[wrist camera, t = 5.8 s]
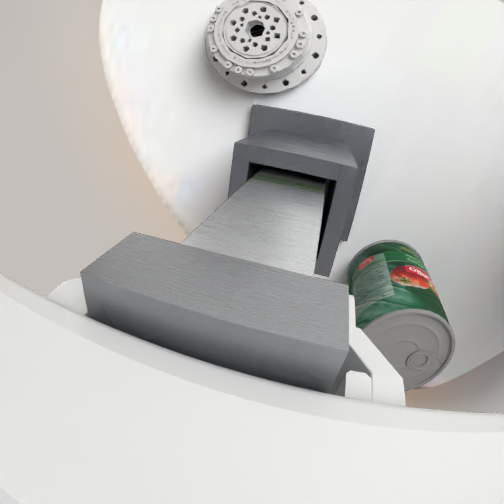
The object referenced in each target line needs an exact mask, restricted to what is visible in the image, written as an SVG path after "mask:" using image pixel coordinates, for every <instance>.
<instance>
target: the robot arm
mask: <svg viewBox="0 0 504 504" xmlns="http://www.w3.org/2000/svg"><path fill="white" fill-rule="evenodd" d="M0 504H504V413H482V412H461V411H447V410H435V409H425V408H416V407H407V406H406V402H405V393H404V384H403V378H402V377H401V376H400V375H399V374H398V372H397V371H396V370H395V369H394V368H393V366H392V365H391V364H390V363H389V362H388V361H387V359H386V358H385V357H384V356H383V355H382V353H381V352H380V351H379V350H378V349H377V348H376V346H375V345H374V344H373V343H372V342H371V341H370V339H369V338H368V337H367V336H366V335H365V334H364V332H363V331H362V330H361V329H360V328H357V327H356V321H355V299H354V296H353V295H349V352H348V354H347V356H346V358H345V360H344V362H343V364H342V366H341V369H340V371H339V373H338V375H337V377H336V379H335V381H334V383H333V384H332V386H331V388H330V390H329V392H328V393H323V392H318V391H313V390H309V389H304V388H300V387H295V386H291V385H287V384H283V383H279V382H275V381H271V380H267V379H263V378H260V377H256V376H252V375H249V374H245V373H241V372H238V371H235V370H231V369H228V368H224V367H221V366H218V365H214V364H211V363H208V362H205V361H202V360H199V359H196V358H193V357H190V356H187V355H184V354H181V353H178V352H175V351H172V350H169V349H167V348H164V347H161V346H158V345H156V344H153V343H150V342H148V341H145V340H142V339H140V338H137V337H135V336H132V335H130V334H127V333H125V332H122V331H120V330H117V329H115V328H112V327H110V326H108V325H105V324H103V323H101V322H98V321H96V320H94V319H92V318H89V315H88V311H87V306H86V301H85V296H84V291H83V285H82V280H81V277H79V278H75V279H71V280H67V281H64V282H63V283H62V284H61V285H59V286H58V287H57V288H56V289H55V290H53V291H52V292H51V293H50V294H48V295H47V296H46V297H45V296H43V295H41V294H39V293H37V292H35V291H33V290H31V289H29V288H28V287H25V286H23V285H22V284H20V283H18V282H16V281H14V280H12V279H11V278H9V277H7V276H6V275H4V274H2V273H0Z"/></svg>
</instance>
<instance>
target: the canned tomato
mask: <svg viewBox="0 0 504 504" xmlns="http://www.w3.org/2000/svg"><path fill="white" fill-rule="evenodd" d="M347 283H348V285H349V295H353V296H354V299H355V321H356V327H357V328H360V329H361V330H362V331H363V332H364V334H365V335H366V336H367V337H368V338H369V339H370V341H371V342H372V343H373V344H374V345H375V346H376V348H377V349H378V350H379V351H380V352H381V353H382V355H383V356H384V357H385V358H386V359H387V361H388V362H389V363H390V364H391V365H392V366H393V368H394V369H395V370H396V371H397V372H398V374H399V375H400V376H401V377H402V378H403V384H404V391H407V390H410V389H414V388H417V387H419V386H422V385H424V384H426V383H427V382H429V381H431V380H432V379H434V378H435V377H436V376H437V375H439V374H440V373H441V372H442V371H443V369H444V368H445V367H446V366H447V364H448V363H449V361H450V360H451V357H452V355H453V352H454V347H455V339H454V333H453V331H452V328H451V326H450V325H449V322H448V319H447V316H446V314H445V311H444V309H443V306H442V304H441V302H440V299H439V297H438V294H437V292H436V290H435V288H434V285H433V283H432V281H431V279H430V276H429V274H428V272H427V270H426V268H425V266H424V263H423V260H422V258H421V257H420V255H419V254H418V253H417V251H416V250H415V249H414V248H412V247H411V246H410V245H408V244H406V243H404V242H401V241H396V240H383V241H378V242H375V243H372V244H370V245H368V246H366V247H365V248H363V249H362V250H361V251H360V252H359V253H358V254H357V255H356V256H355V257H354V259H353V260H352V262H351V264H350V266H349V270H348V273H347Z"/></svg>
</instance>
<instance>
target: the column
mask: <svg viewBox="0 0 504 504" xmlns="http://www.w3.org/2000/svg"><path fill="white" fill-rule="evenodd" d="M325 187H326V178H323V177H319V176H315V175H310V174H306V173H301V172H297V171H292V170H287V169H282V168H278V167H273V166H268V165H265V166H264V167H263V168H262V169H261V170H260V171H259V172H257V173H256V174H255V175H254V176H253V177H252V178H251V179H250V180H248V181H247V182H246V183H245V184H244V185H243V186H242V187H241V188H240V189H238V190H237V191H236V192H235V193H234V194H233V195H232V196H231V197H230V198H228V199H227V200H226V201H225V202H224V203H223V204H222V205H221V206H220V207H219V208H218V209H216V210H215V211H214V212H213V213H212V214H211V215H210V216H209V217H208V218H207V219H206V220H205V221H204V222H203V223H201V224H200V225H199V226H198V227H197V228H196V229H195V230H194V231H193V232H192V233H191V234H190V235H189V236H188V237H187V238H186V239H185V240H184V241H183V242H181V243H176V242H172V241H168V240H164V239H160V238H156V237H152V236H148V235H144V234H141V233H136V232H133V233H131V234H130V235H129V236H127V237H126V238H125V239H123V240H122V241H121V242H119V243H118V244H116V245H115V246H114V247H112V248H111V249H110V250H109V251H107V252H106V253H105V254H103V255H102V256H100V257H99V258H98V259H97V260H95V261H94V262H93V263H91V264H90V265H89V266H88V267H86V268H85V269H84V270H83V271H81V272H80V273H81V280H82V285H83V291H84V296H85V301H86V306H87V311H88V315H89V318H92V319H94V320H96V321H98V322H101V323H103V324H105V325H108V326H110V327H112V328H115V329H117V330H120V331H122V332H125V333H127V334H130V335H132V336H135V337H137V338H140V339H142V340H145V341H148V342H150V343H153V344H156V345H158V346H161V347H164V348H167V349H169V350H172V351H175V352H178V353H181V354H184V355H187V356H190V357H193V358H196V359H199V360H202V361H205V362H208V363H211V364H214V365H218V366H221V367H224V368H228V369H231V370H235V371H238V372H241V373H245V374H249V375H252V376H256V377H260V378H263V379H267V380H271V381H275V382H279V383H283V384H287V385H291V386H295V387H300V388H304V389H309V390H313V391H318V392H323V393H328V392H329V390H330V388H331V386H332V384H333V383H334V381H335V379H336V377H337V375H338V373H339V371H340V369H341V366H342V364H343V362H344V360H345V358H346V356H347V354H348V352H349V285H345V284H341V283H337V282H333V281H329V280H325V279H321V278H316V277H313V275H314V269H315V262H316V255H317V249H318V242H319V234H320V227H321V220H322V212H323V204H324V195H325Z"/></svg>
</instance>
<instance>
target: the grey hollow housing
mask: <svg viewBox="0 0 504 504" xmlns="http://www.w3.org/2000/svg"><path fill="white" fill-rule="evenodd" d="M374 132H375V129H372V128H368V127H365V126H361V125H357V124H353V123H349V122H345V121H341V120H336V119H332V118H327V117H323V116H318V115H313V114H308V113H303V112H298V111H292V110H287V109H281V108H275V107H269V106H262V105H253V107H252V114H251V121H250V128H249V135H248V138H245V139H242V140H240V141H237V142H235V143H234V151H233V159H232V167H231V175H230V184H229V192H228V198H230V197H231V196H232V195H233V194H234V193H235V192H236V191H237V190H238V189H240V188H241V187H242V186H243V185H244V184H245V183H246V182H247V181H248V180H250V179H251V178H252V177H253V176H254V175H255V174H256V173H257V172H259V171H260V170H261V169H262V168H263V167H264V166H265V165H268V166H273V167H278V168H282V169H287V170H292V171H297V172H301V173H306V174H310V175H315V176H319V177H323V178H326V187H325V195H324V204H323V212H322V220H321V227H320V234H319V242H318V249H317V255H316V262H315V269H314V274H318V275H322V276H326V277H329V275H330V272H331V269H332V265H333V262H334V258H335V255H336V251H337V248H338V244H339V241H340V240H343V241H347V240H348V236H349V233H350V229H351V226H352V222H353V219H354V215H355V211H356V207H357V204H358V200H359V196H360V192H361V188H362V184H363V180H364V176H365V172H366V168H367V163H368V159H369V155H370V150H371V146H372V141H373V137H374Z"/></svg>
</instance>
